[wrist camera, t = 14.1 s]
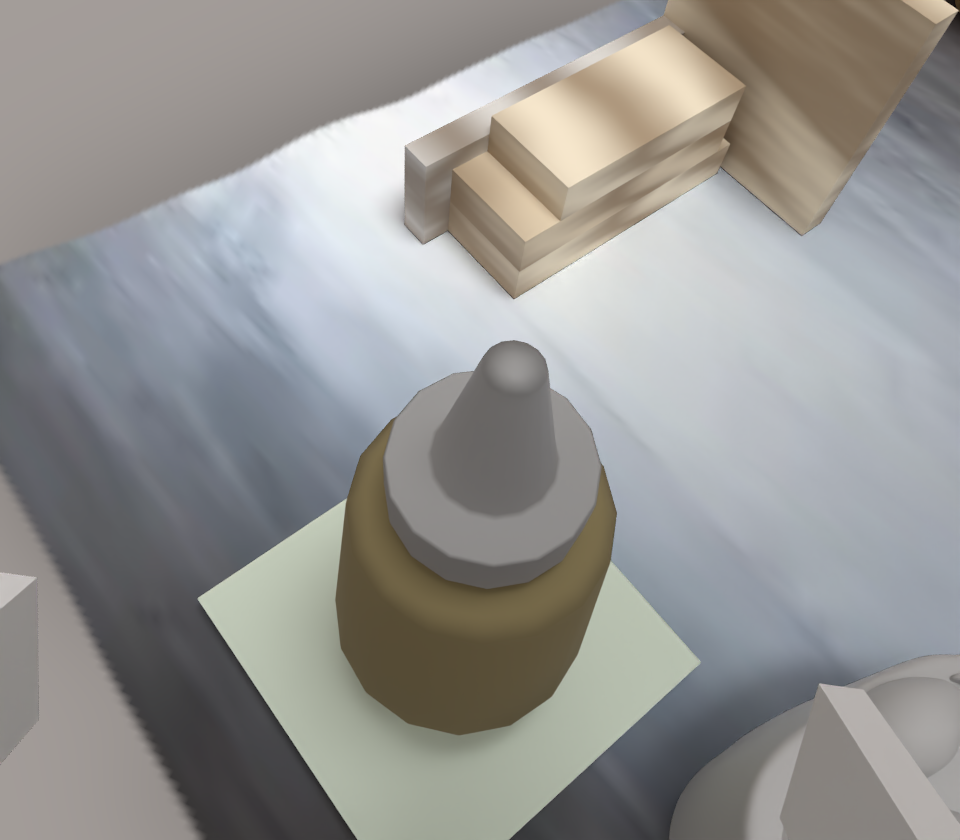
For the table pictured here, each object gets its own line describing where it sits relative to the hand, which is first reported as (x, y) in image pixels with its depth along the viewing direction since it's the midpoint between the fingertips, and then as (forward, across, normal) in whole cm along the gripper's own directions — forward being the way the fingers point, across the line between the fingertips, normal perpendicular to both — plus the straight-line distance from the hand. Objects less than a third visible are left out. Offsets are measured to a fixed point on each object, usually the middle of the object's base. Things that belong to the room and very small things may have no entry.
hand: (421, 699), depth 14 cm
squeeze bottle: (+15, +1, -7) cm, 17 cm away
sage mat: (+15, +1, -8) cm, 17 cm away
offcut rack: (+31, +6, +7) cm, 32 cm away
